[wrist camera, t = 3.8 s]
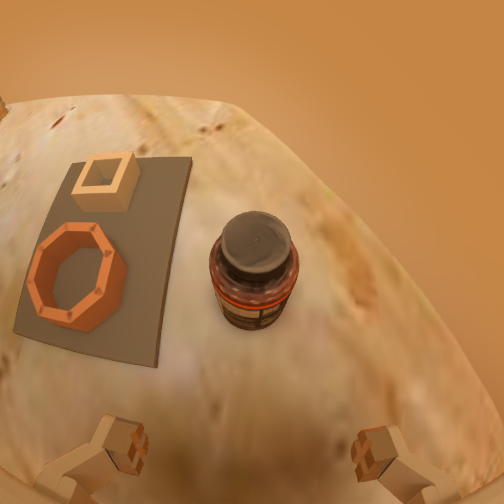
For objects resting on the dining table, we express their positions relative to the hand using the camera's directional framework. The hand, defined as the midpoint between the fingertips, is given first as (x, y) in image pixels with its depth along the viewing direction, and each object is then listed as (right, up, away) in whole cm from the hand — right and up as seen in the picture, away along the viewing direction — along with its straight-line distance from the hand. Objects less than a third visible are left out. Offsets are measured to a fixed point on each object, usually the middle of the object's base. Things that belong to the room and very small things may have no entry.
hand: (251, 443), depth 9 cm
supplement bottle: (0, +2, +17) cm, 18 cm away
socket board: (-17, +8, +19) cm, 27 cm away
